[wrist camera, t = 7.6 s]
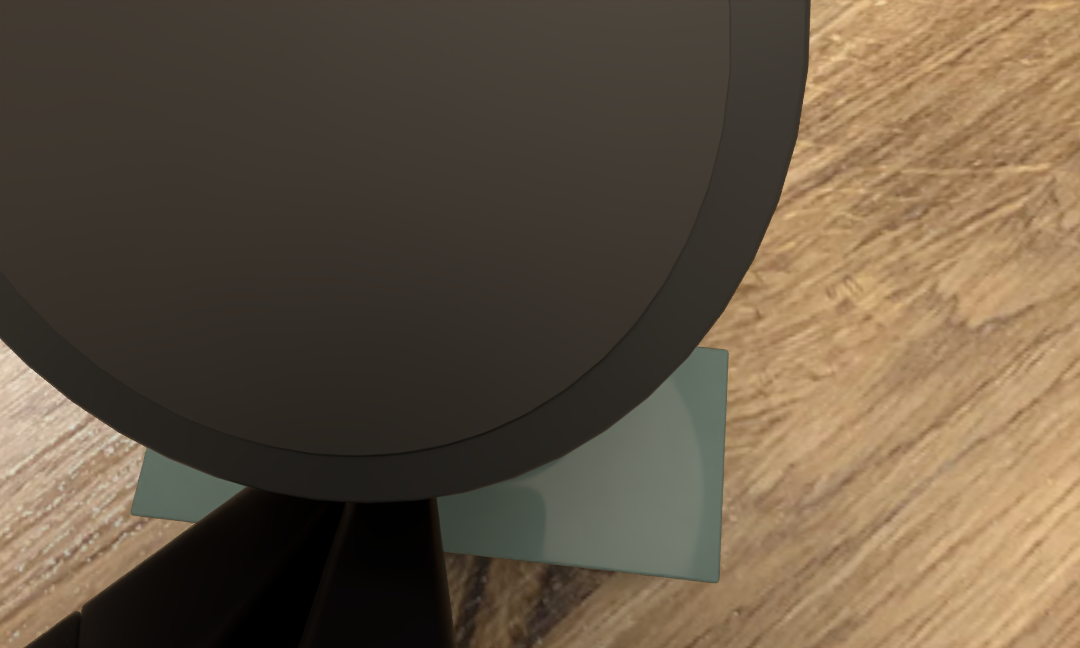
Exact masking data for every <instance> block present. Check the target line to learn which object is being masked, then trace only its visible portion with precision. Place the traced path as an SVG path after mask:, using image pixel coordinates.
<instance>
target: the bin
mask: <svg viewBox="0 0 1080 648" xmlns="http://www.w3.org/2000/svg"><path fill="white" fill-rule="evenodd" d="M810 4H811V0H0V339H1V340H2V341H3V342H4V343H5V344H6V345H7V346H8V347H9V348H10V349H11V350H12V351H13V352H14V353H15V354H16V355H17V356H18V357H19V358H21V359H22V360H23V361H24V362H25V363H26V364H27V365H28V366H29V367H30V368H31V369H33V370H34V371H35V372H36V373H37V374H39V375H40V376H41V377H42V378H44V379H45V380H46V381H47V382H49V383H50V384H51V385H52V386H53V387H55V388H56V389H57V390H58V391H60V392H61V393H62V394H63V395H65V396H66V397H67V398H68V399H69V400H71V401H72V402H73V403H75V404H76V405H78V406H79V407H81V408H82V409H84V410H85V411H87V412H88V413H90V414H92V415H93V416H95V417H96V418H98V419H99V420H101V421H102V422H104V423H105V424H107V425H108V426H110V427H111V428H113V429H114V430H116V431H117V432H119V433H121V434H123V435H124V436H126V437H128V438H130V439H132V440H134V441H136V442H138V443H140V444H142V445H143V446H145V447H147V448H149V449H151V450H153V451H155V452H157V453H159V454H161V455H162V456H164V457H166V458H168V459H171V460H173V461H176V462H178V463H181V464H183V465H186V466H188V467H191V468H193V469H196V470H198V471H201V472H203V473H206V474H208V475H211V476H213V477H216V478H219V479H223V480H226V481H230V482H233V483H237V484H240V485H244V486H247V487H251V488H254V489H258V490H261V491H265V492H269V493H275V494H281V495H287V496H293V497H298V498H304V499H310V500H316V501H331V502H348V503H365V504H369V503H388V502H406V501H419V500H425V499H431V498H437V497H442V496H448V495H454V494H460V493H465V492H469V491H473V490H476V489H479V488H483V487H486V486H489V485H493V484H496V483H499V482H503V481H506V480H509V479H513V478H516V477H518V476H520V475H522V474H525V473H527V472H529V471H531V470H534V469H536V468H538V467H541V466H543V465H545V464H547V463H550V462H552V461H554V460H556V459H559V458H561V457H563V456H565V455H566V454H568V453H570V452H571V451H573V450H575V449H576V448H578V447H580V446H581V445H583V444H585V443H586V442H588V441H590V440H591V439H593V438H595V437H596V436H598V435H600V434H601V433H603V432H605V431H606V430H608V429H609V428H610V427H611V426H613V425H614V424H615V423H617V422H618V421H619V420H620V419H622V418H623V417H624V416H626V415H627V414H628V413H629V412H631V411H632V410H633V409H635V408H636V407H637V406H638V405H640V404H641V403H642V402H643V401H645V400H646V399H647V398H649V397H650V396H651V395H652V394H653V393H654V392H655V391H656V390H657V389H658V388H659V387H660V386H661V385H662V384H663V382H664V381H665V380H666V379H667V378H668V377H669V376H670V375H671V374H672V373H673V372H674V371H675V370H676V369H677V368H678V367H679V366H680V365H681V364H682V363H683V362H684V361H685V360H686V359H687V358H688V357H689V356H690V355H691V353H692V352H693V351H694V349H695V348H696V347H697V346H698V344H699V343H700V342H701V340H702V339H703V338H704V336H705V335H706V334H707V332H708V331H709V330H710V329H711V327H712V326H713V325H714V323H715V322H716V321H717V319H718V318H719V317H720V316H721V314H722V313H723V312H724V310H725V308H726V307H727V305H728V303H729V301H730V300H731V298H732V296H733V295H734V293H735V291H736V289H737V288H738V286H739V284H740V283H741V281H742V279H743V277H744V276H745V274H746V272H747V271H748V269H749V267H750V265H751V264H752V262H753V260H754V258H755V256H756V254H757V251H758V249H759V247H760V244H761V242H762V240H763V237H764V235H765V233H766V230H767V228H768V226H769V223H770V221H771V219H772V216H773V214H774V212H775V209H776V207H777V205H778V202H779V199H780V196H781V192H782V189H783V185H784V182H785V178H786V175H787V171H788V168H789V164H790V161H791V157H792V154H793V151H794V147H795V144H796V140H797V136H798V130H799V124H800V117H801V111H802V105H803V98H804V92H805V86H806V79H807V73H808V63H809V34H810Z"/></svg>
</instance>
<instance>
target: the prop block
mask: <svg viewBox="0 0 1080 648" xmlns="http://www.w3.org/2000/svg"><path fill="white" fill-rule="evenodd" d="M728 355H729V353H728V351H727V350H724V349H715V348H706V347H696V348H695V349H694V351H693V352H692V353H691V355H690V356H689V357H688V358H687V359H686V360H685V361H684V362H683V363H682V364H681V365H680V366H679V367H678V368H677V369H676V370H675V371H674V372H673V373H672V374H671V375H670V376H669V377H668V378H667V379H666V380H665V381H664V382H663V384H662V385H661V386H660V387H659V388H658V389H657V390H656V391H655V392H654V393H653V394H652V395H651V396H650V397H649V398H647V399H646V400H645V401H643V402H642V403H641V404H640V405H638V406H637V407H636V408H635V409H633V410H632V411H631V412H629V413H628V414H627V415H626V416H624V417H623V418H622V419H620V420H619V421H618V422H617V423H615V424H614V425H613V426H611V427H610V428H609V429H608V430H606V431H605V432H603V433H601V434H600V435H598V436H596V437H595V438H593V439H591V440H590V441H588V442H586V443H585V444H583V445H581V446H580V447H578V448H576V449H575V450H573V451H571V452H570V453H568V454H566V455H565V456H563V457H561V458H559V459H556V460H554V461H552V462H550V463H547V464H545V465H543V466H541V467H538V468H536V469H534V470H531V471H529V472H527V473H525V474H522V475H520V476H518V477H516V478H513V479H509V480H506V481H503V482H499V483H496V484H493V485H489V486H486V487H483V488H479V489H476V490H473V491H469V492H465V493H460V494H454V495H448V496H442V497H437V503H438V511H439V518H440V526H441V534H442V542H443V549H444V552H450V553H459V554H468V555H476V556H485V557H493V558H502V559H511V560H519V561H528V562H536V563H545V564H554V565H562V566H571V567H579V568H588V569H597V570H605V571H614V572H622V573H631V574H640V575H648V576H657V577H665V578H674V579H683V580H691V581H700V582H708V583H718V582H719V576H720V551H721V527H722V502H723V478H724V453H725V429H726V404H727V380H728ZM245 487H246V486H244V485H240V484H237V483H233V482H230V481H226V480H223V479H219V478H216V477H213V476H211V475H208V474H206V473H203V472H201V471H198V470H196V469H193V468H191V467H188V466H186V465H183V464H181V463H178V462H176V461H173V460H171V459H168V458H166V457H164V456H162V455H161V454H159V453H157V452H155V451H153V450H151V449H149V448H147V449H146V453H145V457H144V461H143V465H142V468H141V472H140V476H139V480H138V484H137V488H136V492H135V496H134V500H133V504H132V508H131V514H132V515H133V516H141V517H150V518H158V519H167V520H175V521H184V522H193V523H197V522H198V521H199V520H201V519H202V518H204V517H205V516H206V515H208V514H209V513H210V512H212V511H213V510H215V509H216V508H217V507H219V506H220V505H221V504H223V503H224V502H226V501H227V500H228V499H230V498H231V497H233V496H234V495H235V494H237V493H238V492H239V491H241V490H242V489H244V488H245Z"/></svg>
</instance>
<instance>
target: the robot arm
mask: <svg viewBox="0 0 1080 648" xmlns="http://www.w3.org/2000/svg"><path fill="white" fill-rule="evenodd" d="M24 648H456V643H455V635H454V627H453V619H452V612H451V604H450V596H449V588H448V580H447V573H446V565H445V557H444V549H443V542H442V534H441V526H440V518H439V511H438V503H437V498H431V499H425V500H419V501H406V502H388V503H369V504H365V503H348V502H331V501H316V500H310V499H304V498H298V497H293V496H287V495H281V494H275V493H269V492H265V491H261V490H258V489H254V488H251V487H247V486H246V487H245V488H244V489H242V490H241V491H239V492H238V493H237V494H235V495H234V496H233V497H231V498H230V499H228V500H227V501H226V502H224V503H223V504H221V505H220V506H219V507H217V508H216V509H215V510H213V511H212V512H210V513H209V514H208V515H206V516H205V517H204V518H202V519H201V520H199V521H198V522H197V523H195V524H194V525H193V526H191V527H190V528H188V529H187V530H186V531H184V532H183V533H182V534H180V535H179V536H177V537H176V538H175V539H173V540H172V541H171V542H169V543H168V544H166V545H165V546H164V547H162V548H161V549H160V550H158V551H157V552H155V553H154V554H153V555H151V556H150V557H149V558H147V559H146V560H144V561H143V562H142V563H140V564H139V565H138V566H136V567H135V568H133V569H132V570H131V571H129V572H128V573H127V574H125V575H124V576H122V577H121V578H120V579H118V580H117V581H116V582H114V583H113V584H111V585H110V586H109V587H107V588H106V589H105V590H103V591H102V592H100V593H99V594H98V595H96V596H95V597H94V598H92V599H91V600H89V601H88V602H87V603H85V604H84V605H83V607H82V610H81V613H80V612H78V611H75V612H73V613H71V614H70V615H68V616H67V617H65V618H64V619H63V620H61V621H60V622H59V623H57V624H56V625H54V626H53V627H52V628H50V629H49V630H48V631H46V632H45V633H43V634H42V635H41V636H39V637H38V638H37V639H35V640H34V641H32V642H31V643H30V644H28V645H27V646H25V647H24Z"/></svg>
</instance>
